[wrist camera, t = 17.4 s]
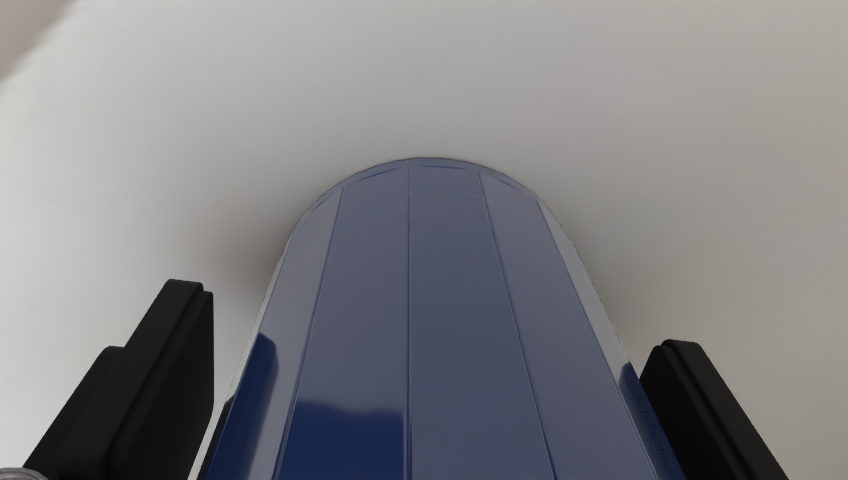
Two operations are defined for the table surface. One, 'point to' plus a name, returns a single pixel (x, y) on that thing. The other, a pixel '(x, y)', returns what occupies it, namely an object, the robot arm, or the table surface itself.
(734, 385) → the table surface
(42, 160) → the table surface
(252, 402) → the cup
